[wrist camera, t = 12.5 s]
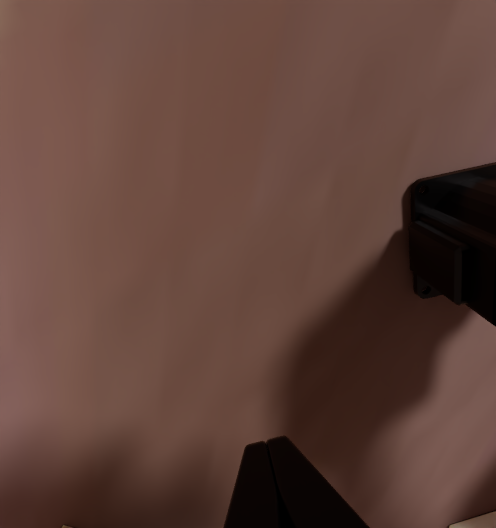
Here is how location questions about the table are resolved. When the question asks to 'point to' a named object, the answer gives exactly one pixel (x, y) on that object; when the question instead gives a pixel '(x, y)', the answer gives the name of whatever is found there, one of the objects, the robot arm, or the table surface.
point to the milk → (478, 522)
